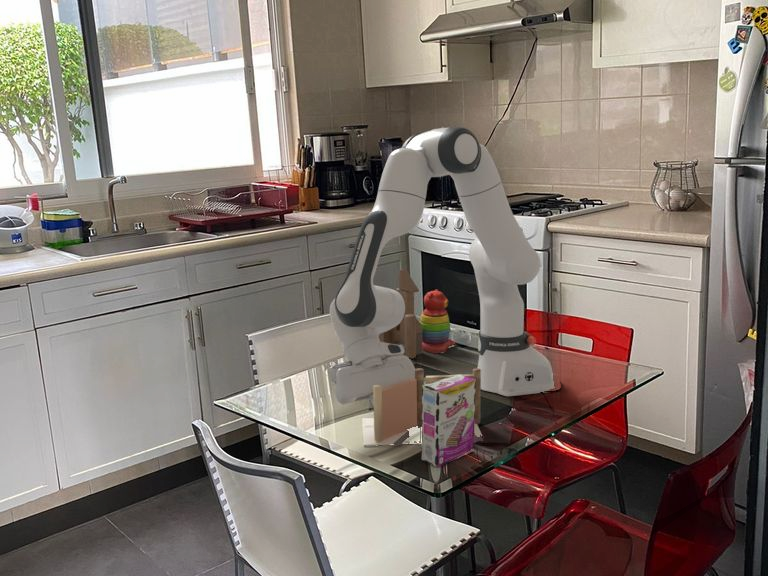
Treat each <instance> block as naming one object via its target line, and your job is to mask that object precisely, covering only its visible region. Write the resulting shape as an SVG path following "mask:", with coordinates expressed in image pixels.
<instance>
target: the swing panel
mask: <svg viewBox="0 0 768 576" xmlns="http://www.w3.org/2000/svg"><path fill="white" fill-rule="evenodd" d="M373 400H374V405H373V418H374V440H375V441H377V442H379V441H382V440H383V439H386V438H388V437H390V436H393V435H395V434H398V433H400V432H403V431H405V430H407V429H410V428H412V427H415V426H417V379H414V378H411V379H408V380H406V381H403V382H400V383H397V384H394V385H391V386H388V387H386V388H383V389H382V386H381V385H374V386H373Z"/></svg>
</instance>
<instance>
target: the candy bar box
mask: <svg viewBox="0 0 768 576" xmlns="http://www.w3.org/2000/svg"><path fill="white" fill-rule="evenodd" d="M454 375H455V376H452V377H448V378H445V379H442V380H438V381H435V382H432V383H428V384H426V383H424V385H422V444H421V461H423V462H424V463H426V462H427V464H429V463H430V464H432V465H431V466H433V465H434V466H433V467H435V466H436V467H435V468H439V467H441V466H444V465H446V464H448V462H449V461H451V460H453V459H455V458H457V457H459V456H461V455H463V454H465V453H466V452H468V451H470V450H471V449H473V448H474V449H475V442H474V424H475V385H476V379H473V378H470V377H467V376H464V375H465V374H459V373H458V374H454ZM453 461H454V460H453ZM451 462H452V461H451ZM445 463H446V464H445ZM449 463H450V462H449ZM430 464H429V465H430ZM443 464H444V465H443ZM438 466H439V467H438Z"/></svg>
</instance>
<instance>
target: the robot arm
mask: <svg viewBox="0 0 768 576" xmlns="http://www.w3.org/2000/svg"><path fill="white" fill-rule="evenodd" d="M445 176H450V177H451V178H452V180H453V182H454V187H455V190H456V193H457V196H458V199H459V201H460V202H459V203H460V204H461V208H462V211H463V213H464V216H465V220H466V223H467V224H468V226H469V228H470V229H471V230H472V231H473V233H474V234H475V236H476V238H474V239H473V241H472V242H471V244H470V245H469V249H468V258H469V261H470V263H471V265H472V267H473V270H474V275H475V280H476V281H475V282H476V286H477V291H478V296H479V304H480V313H479V315H480V321H479V322H480V327H479V328H480V329H479V330H478V337H477V342H478V343H477V350H478V351H477V352H478V362H477V368H478V369H481V391H485V392H489V393H490V392H491V393H494V394H498V395H502V396H505V397H514V396H515V397H516V396H523V395H524V396H525V395H532V394H541V393H540V392H543V393H545V392H544V391H548V390H550V389H553V388H555V387H554V381H553V374H554V373H553V369H552V364H551V362H550V360H549V359H548V358H547V357H546V356H545V355H543V354H542V353H541V352H539V351H538V350H537V349H535V348H534V347H533V346H534V345H535V344H537V339H536V338H535V337H534V336H533V335H531V334H530V333H528V332H527V331H526V330H525V331H524V327H525V326H524V324H525V322H524V319H525V317H524V315H525V303H524V300H523V297H522V295H521V293H520V291H519V287H518V285H519V286H520V285H521V286H522V285H527V284H529V283H531V282H533V280H534V279H536V277H537V276H538V274H539V272H540V268H541V260H540V257H539V254H538V252H537V251H536V250H535V249H534V247H532V245H531V244H530V242H529V241H528V239H527V237H526V235H525V233H524V232H523V230H522V228H521V226H520V224H519V223H518V221H517V219H516V217H515V215H514V213H513V210H512V209H511V205H510V204H509V200H508V197H507V193H506V192H505V189H504V188H505V187H504V185H503V183H502V179H501V176H500V173H499V171H498V169H497V166H496V164H495V162H494V160H493V157H492V155H491V153H490V152H489V150H488V148H486V146H485V145H483V144H481V143H480V142H479V139H478V138H477V137H476V135H475V134H474V133H473V132H472V131H471V130H470V129H468V128H465V127H462V126H450V127H440V128H433V129H431V130H428V131H425V132H420V133H419V132H418V133H416V134H414V135H412V136H410V137H409V138H407V139H406V140H405V142H404V143H403V144H402V146H401V147H400V148H398V149H397V148H396V149H395V150H393V151H392V152H390V153H389V155H388V157H387V160H386V163H385V165H384V167H383V171H382V173H381V177H380V181H379V185H378V188H377V189H378V190H377V195H376V199H375V202H374V205H373V208H372V210H371V211H370V212H369V213H368V214H367V215H366V216H365V217H364V219H363V222H362V223H361V227H360V229H359V232H358V234H357V238H356V242H355V244H354V246H353V247H354V248H353V250H352V254H351V257H350V261H349V263H348V267H347V270H346V273H345V276H344V278H343V280H342V281H341V284H340V285H339V288H338V290H337V292H336V294H335V297H334V299H333V300H332V301H331V303H330V306H329V316H330V320H331V323H332V325H331V326H332V328H333V330H334V333H335V335H336V337H337V340H338V341H339V342H340V344H341V345H342V352H343V356H344V357H345V360H346V361H345V362H340V363H335V364H332V366H331V367H330V368H329V369H328V375H329V379H330V380H331V382H333V390H334V392H335V396H336V399H337V402H338V403H339V404H341V405H348V404H352V403H356V402H361V401H366V400H369V402H370V404H371V405H372V406H374V400H373V386H374V385H381V386H382V389H383V388H386V387H388V386H391V385H394V384H397V383H400V382H403V381H406V380H408V379H411V378H414V379H415V369H416V368H415V366H414V363H413V362H412V360H411V359H409V358H408V357H407V356H405V346H403V344H400V345H397V344H390V343H385V342H380V340H379V334H381V333H384V332H387V331H389V330H391V329H393V328H395V327H396V326H398V325H399V324H400V323H401V322H402V320H403V318H404V316H405V311H406V305H405V301H404V298H403V296H402V295H401V294H400V293H399V292H398V291H396V289H392V288H389V287H386V286H385V287H384V286H382V285H381V286H379V285H376V284H374V277H375V275H376V270H377V267H378V264H379V261H380V258H381V254H382V251H383V249H384V247H385V245H386V244H387V243H388V242H389V241H390V240H392V239H394V238H397V237H401V236H405V235H407V234H409V233H410V232H413V231H414V230H415V229H416V228H417V227H418V226H419V225H420V221H421V219H422V217H423V215H424V214H423V213H424V210H425V204H426V203H425V202H426V198H427V191H428V185H429V181H430V180H431V178H440V177H441V178H442V177H445Z"/></svg>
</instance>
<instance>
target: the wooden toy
mask: <svg viewBox="0 0 768 576" xmlns="http://www.w3.org/2000/svg"><path fill="white" fill-rule="evenodd" d="M395 290H396V291H398V292H399V293H400V294H401V295H402V296H403V298H404V301H405V305H406V311H405V316H404V318H403V320H402V322H401V323H400V324H399V325H398V326H396V327H395V328H393V329H391V330H389V331H387V332H384V333H381V334H379V340H380V342H385V343H390V344H397V345H398V344H400V343H402V345H404V350H405V352H404V355H405V356H407V357H408V358H410V360H411V359H415V358H416V357H417V356H418V355H423V349H422V324H421V323H420V321H419V320H418V319H417V316H416V314H415V293H418V292H420V290H419V287H418V286H417V285H416V283H415V281H414V280H413V278H412V276H411V275H410V274H409V272H408V271H407V269H406V268H402V269H399V270H398V288H395ZM400 345H401V344H400Z"/></svg>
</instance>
